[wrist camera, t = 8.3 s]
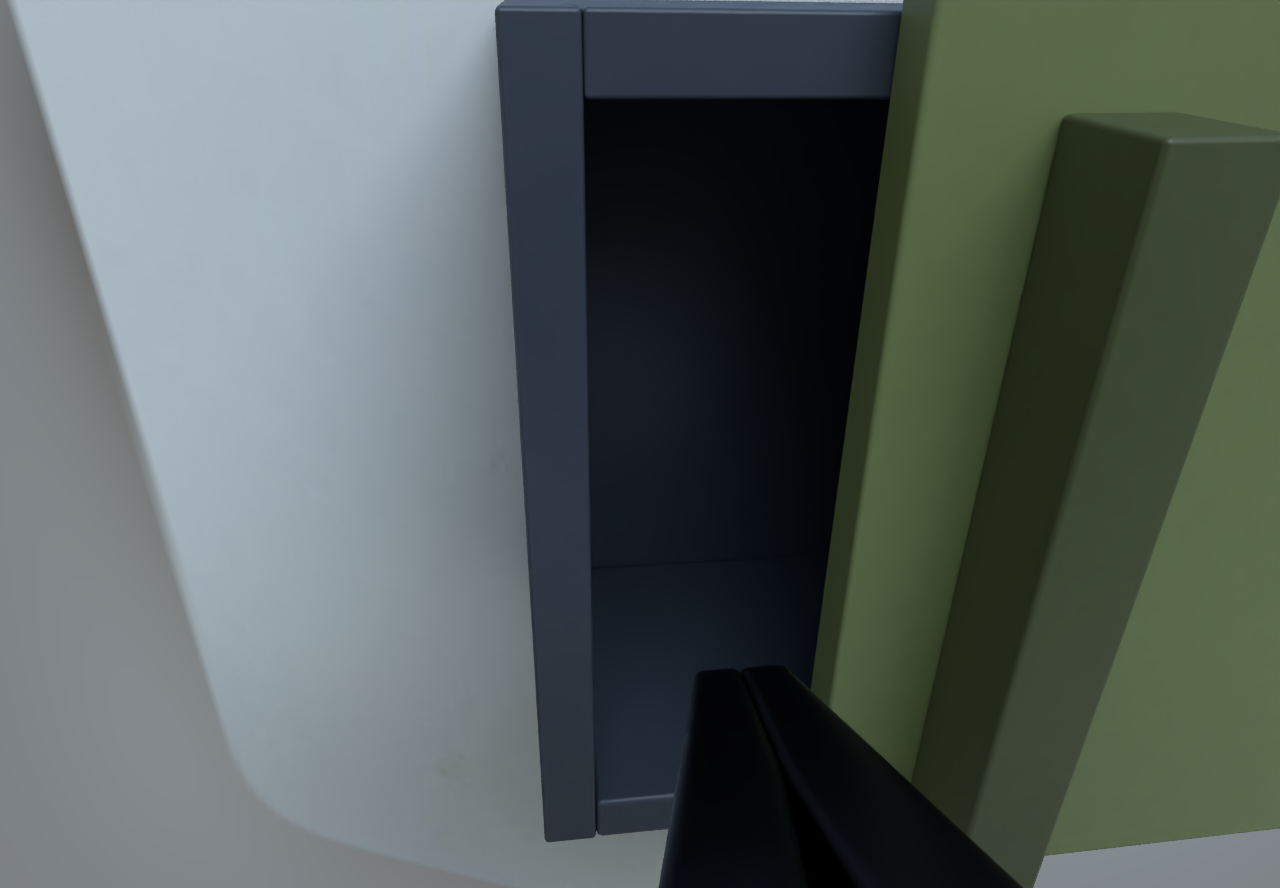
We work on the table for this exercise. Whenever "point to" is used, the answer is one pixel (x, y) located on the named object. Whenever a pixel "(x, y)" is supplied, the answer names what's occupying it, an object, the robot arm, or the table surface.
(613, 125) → the bin
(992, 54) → the bin lid
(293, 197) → the table surface
